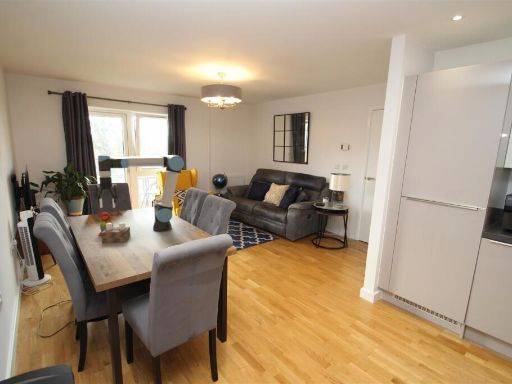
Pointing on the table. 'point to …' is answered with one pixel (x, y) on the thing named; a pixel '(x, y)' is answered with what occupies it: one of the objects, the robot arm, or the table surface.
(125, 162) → the robot arm
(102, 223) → the stacking bear
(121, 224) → the peg
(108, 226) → the peg
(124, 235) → the brown woven basket
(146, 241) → the table surface
